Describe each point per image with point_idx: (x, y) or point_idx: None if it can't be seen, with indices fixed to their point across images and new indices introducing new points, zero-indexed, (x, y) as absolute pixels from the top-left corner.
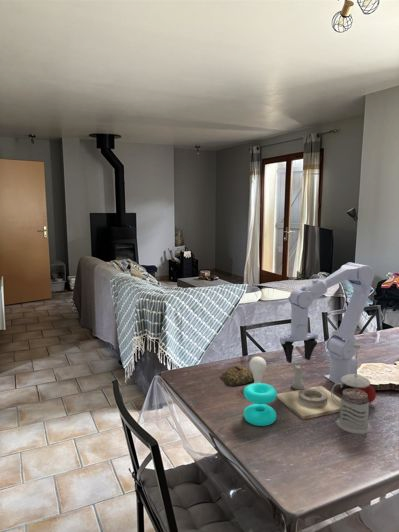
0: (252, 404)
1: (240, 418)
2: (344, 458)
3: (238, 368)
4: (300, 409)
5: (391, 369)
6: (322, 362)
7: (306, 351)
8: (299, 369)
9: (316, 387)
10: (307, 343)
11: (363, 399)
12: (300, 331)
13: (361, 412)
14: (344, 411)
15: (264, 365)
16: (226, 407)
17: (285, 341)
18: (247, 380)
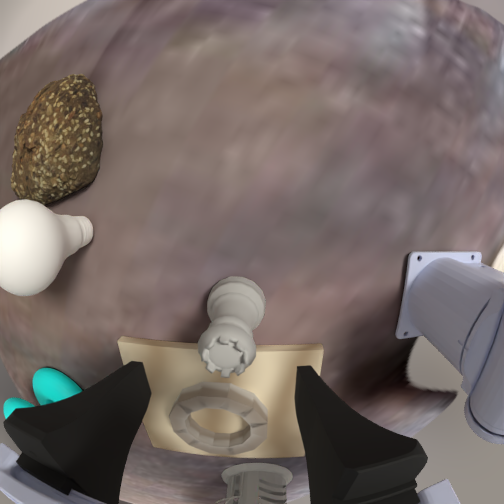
0: (40, 387)
1: (35, 371)
2: (180, 499)
3: (25, 143)
4: (159, 430)
5: None
6: (470, 124)
7: (308, 419)
8: (221, 371)
9: (295, 355)
10: (321, 489)
11: None
12: None
13: (285, 488)
14: (252, 480)
15: (35, 292)
16: (11, 318)
17: (39, 487)
18: (55, 198)
